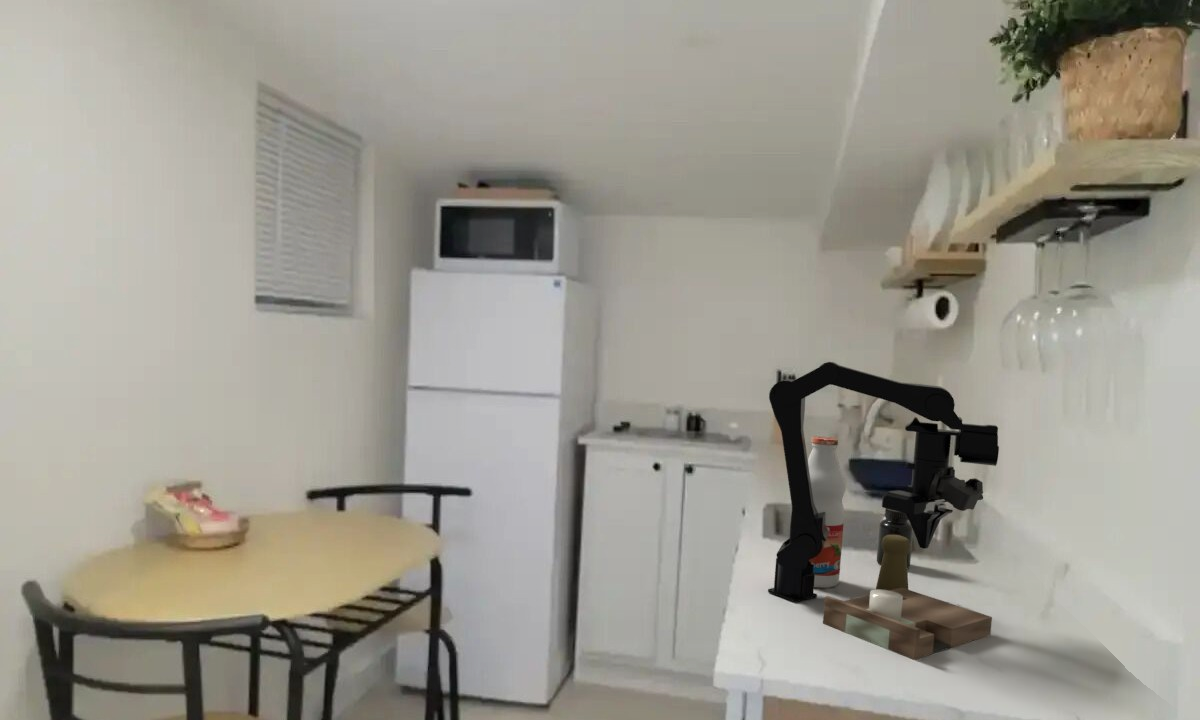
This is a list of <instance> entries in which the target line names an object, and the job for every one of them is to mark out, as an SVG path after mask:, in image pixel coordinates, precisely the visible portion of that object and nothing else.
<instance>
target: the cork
mask: <svg viewBox="0 0 1200 720" xmlns="http://www.w3.org/2000/svg"><path fill="white" fill-rule="evenodd" d="M881 546H882V549H883V551H884V554H883V559H882V563H881V565H880V567H879V573H878V577H877V582H876V586H875V590H877V589H880V590H893V589H897V588H905V589H908V590H909V578H908V574H909V573H908V568H907V554H908V553H909V551H910V547H911V545H910V541H909V540H908V539H907V538H906V537H903V536H900V535H886V536H884V538H883V539H882V544H881Z"/></svg>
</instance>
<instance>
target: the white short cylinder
mask: <svg viewBox="0 0 1200 720" xmlns="http://www.w3.org/2000/svg"><path fill="white" fill-rule="evenodd" d="M869 596H870V600H869V611H872V612H875V613H877V614H880V615H883V616H886V617H888V618H891V619H894V620H897V621H899V622H901V614H902V602H903V596H902V595H901V594H899V593H896V592H893V591H889V590H880V589H877V590H876V589H872V590H870V592H869Z"/></svg>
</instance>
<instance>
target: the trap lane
mask: <svg viewBox="0 0 1200 720" xmlns="http://www.w3.org/2000/svg"><path fill="white" fill-rule="evenodd" d="M889 591H893V592H896V593H899V594H901V595H902V596H903V602H902V614H901V622H899V621H897V620H894V619H891V618H888V617H886V616H883V615H880V614H877V613H875V612H872V611H869V600H870V594H869V595H864V596H859V597H855V598H851V599H847V600H846V599H845V600H842V599H838V598H836V597H834V596H830V595H826V596H824V602H823V603H824V605H823V617H822V624H824V625H825V626H826V625H827V626H829V627H832V628H834V629H836V630H840V631H841V632H844V633H846V634H848V635H852V636H854V637H857V638H859V639H862V640H864V641H867V642H869V643H871V644H874V645H876V646H879V647H881V648H884V649H886V650H890V651H891V652H893V653H897V654H898V655H901V656H904V657H907V658H909V659H911V660H916V659H920V658H923V657H926V656H928V655H932V654H935V653H938V652H942V651H944V650H947V649H951V648H954V647H957V646H960V645H963V644H966V642H967V643H968V642H969V641H970V642H973V641H975V639H976V640H978V638H979V639H982V638H984V637H985V638H986V637H989V636H991V631H992V619H993V616H990V615H987V614H984V613H982V612H978V611H975V610H973V609H972V610H971V609H969V608H966V607H963V606H959V605H956V604H953V603H951V602H948V601H944V600H941V599H938V598H935V597H933V596H929V595H926V594H924V593H919V592H918V591H917V592H916V591H913V590H910V589H909V588H908V589H905V588H897V589H893V590H889ZM972 640H973V641H972ZM970 642H969V643H970Z"/></svg>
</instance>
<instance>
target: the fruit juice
mask: <svg viewBox="0 0 1200 720" xmlns="http://www.w3.org/2000/svg"><path fill="white" fill-rule="evenodd" d="M838 445H839V441H838V438H835V437H830V436H819V435H818V436H817V435H816V436H813V437H812V438H811V447H812V450H811V452H810V453H809V456H808V457H807V459H808V466H809V473H810V480H811V487H812V494H813V501H814V505H815V507H816V509H817V512H818V513H821V512H826V519H825V524H826V528H827V530H828V532H829V534H828V536H827V539H826V541H825V542H824V545H823V548H822V550H821V552H820V553H819V555H818V556H816V557H815V558H812V559H810V560H809V562H810V563H811V564H813V565H814V569H813V574H814V575H815V578H814V588H818V589H819V588H821V589H822V588H823V589H824V588H825V589H826V588H833V587H836V586H837V585H838V584H839V580H840V574H841V573H840V572H841V560H842V549H843V548H842V546H843V536H844V523H845V508H844V505H843V498H844V496H845V495H844V494H845V492H846V487H847V486H846V485H847V483H846V482H847V481H846V479H845V477H844V475H843V472H842V470H841V466H840V463H839V459H838V456H837V450H836V449H838Z"/></svg>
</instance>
